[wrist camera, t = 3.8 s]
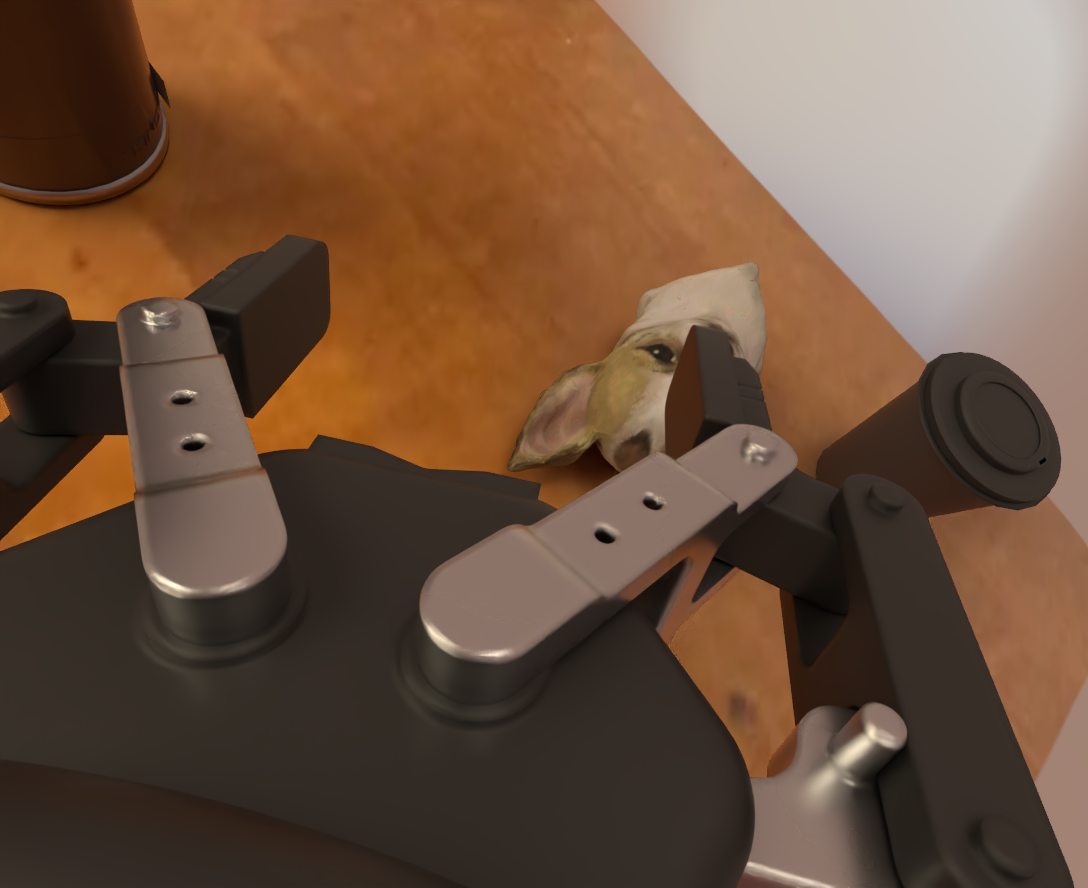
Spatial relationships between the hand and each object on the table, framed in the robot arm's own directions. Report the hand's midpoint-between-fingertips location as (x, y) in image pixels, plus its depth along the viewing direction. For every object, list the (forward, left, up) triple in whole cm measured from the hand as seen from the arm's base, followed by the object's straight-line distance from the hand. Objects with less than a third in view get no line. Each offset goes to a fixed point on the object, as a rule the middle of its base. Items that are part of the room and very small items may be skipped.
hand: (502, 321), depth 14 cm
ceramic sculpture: (+12, +6, -18) cm, 22 cm away
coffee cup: (+26, +4, -18) cm, 32 cm away
